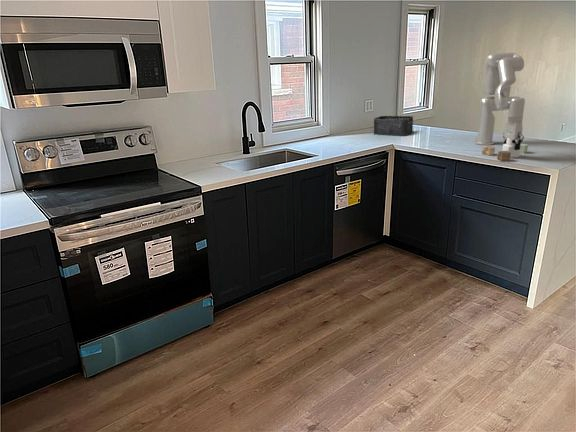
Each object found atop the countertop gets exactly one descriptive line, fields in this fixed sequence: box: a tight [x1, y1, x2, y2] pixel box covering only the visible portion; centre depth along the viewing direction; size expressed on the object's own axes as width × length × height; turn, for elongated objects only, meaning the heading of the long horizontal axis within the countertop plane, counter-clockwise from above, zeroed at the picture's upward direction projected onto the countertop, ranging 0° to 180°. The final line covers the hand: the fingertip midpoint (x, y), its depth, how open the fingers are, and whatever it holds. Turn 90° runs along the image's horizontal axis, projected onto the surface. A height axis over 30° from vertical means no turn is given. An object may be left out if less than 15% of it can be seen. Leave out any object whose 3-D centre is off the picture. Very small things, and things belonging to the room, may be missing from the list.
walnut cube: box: [496, 150, 511, 162], centre depth 247 cm, size 5×5×5 cm
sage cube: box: [519, 143, 529, 154], centre depth 263 cm, size 5×5×5 cm
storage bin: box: [373, 115, 414, 137], centre depth 347 cm, size 29×19×13 cm
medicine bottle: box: [501, 138, 521, 159], centre depth 253 cm, size 7×7×12 cm
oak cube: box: [481, 145, 496, 156], centre depth 262 cm, size 5×5×5 cm
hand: (511, 148), depth 253 cm, fingers open, 9 cm apart
